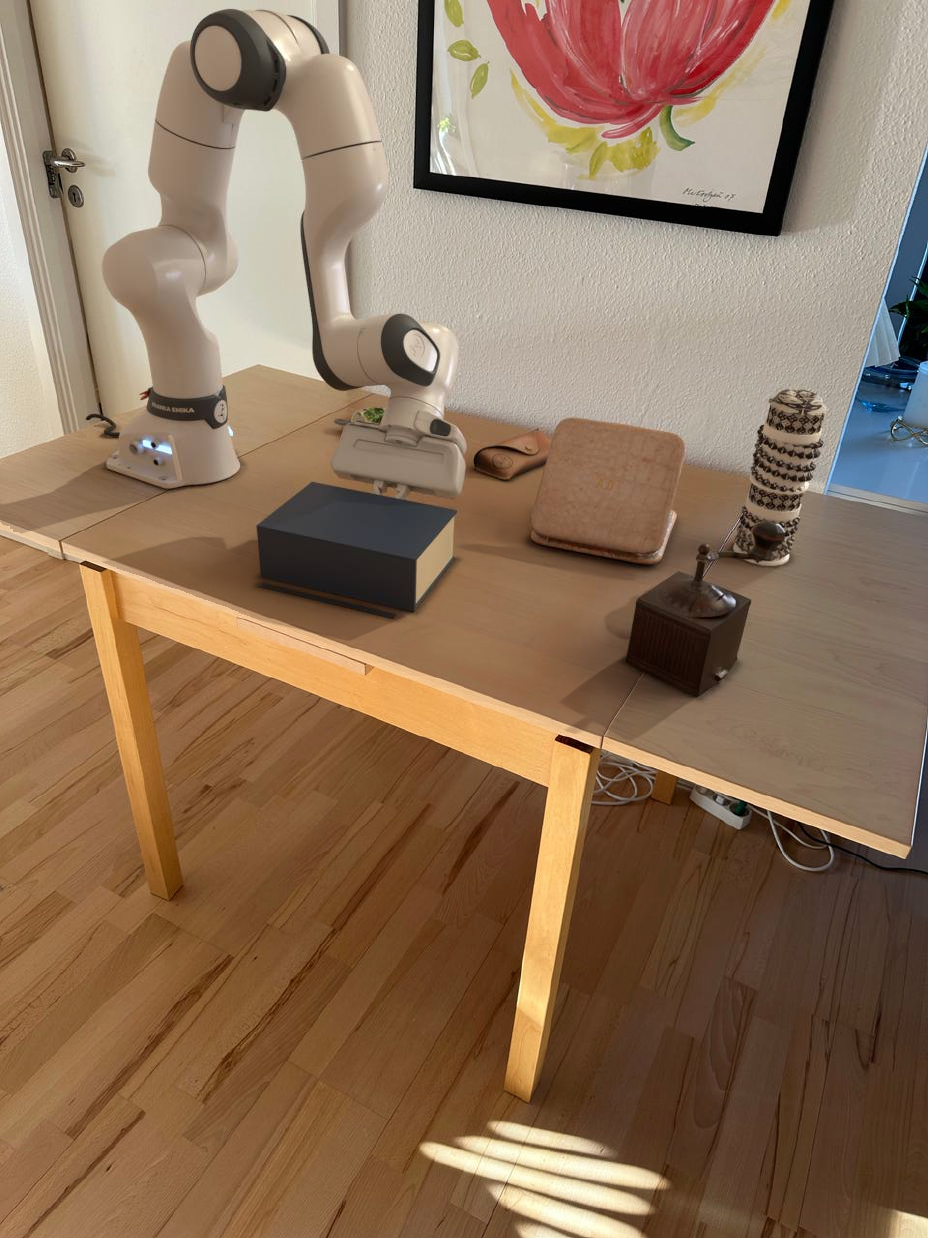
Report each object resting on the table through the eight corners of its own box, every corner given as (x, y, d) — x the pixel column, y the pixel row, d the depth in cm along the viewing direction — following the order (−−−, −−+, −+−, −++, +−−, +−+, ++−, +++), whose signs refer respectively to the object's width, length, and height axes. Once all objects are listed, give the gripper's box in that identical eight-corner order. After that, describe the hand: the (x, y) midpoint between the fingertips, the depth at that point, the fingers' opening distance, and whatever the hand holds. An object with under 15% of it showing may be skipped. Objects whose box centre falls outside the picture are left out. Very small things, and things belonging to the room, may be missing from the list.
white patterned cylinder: (763, 572, 134) (805, 409, 120) (717, 546, 140) (753, 388, 127) (804, 559, 138) (850, 400, 125) (758, 534, 144) (797, 380, 131)
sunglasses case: (509, 480, 157) (496, 443, 155) (481, 488, 162) (468, 453, 160) (569, 454, 168) (558, 419, 167) (541, 462, 173) (530, 429, 172)
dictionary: (260, 577, 125) (256, 525, 121) (313, 529, 138) (311, 481, 134) (414, 612, 120) (415, 559, 115) (454, 559, 132) (457, 509, 128)
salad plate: (327, 444, 168) (326, 420, 165) (342, 412, 183) (341, 389, 180) (430, 451, 167) (431, 427, 165) (437, 418, 183) (438, 395, 180)
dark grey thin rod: (258, 586, 123) (258, 585, 123) (262, 583, 124) (262, 582, 124) (393, 618, 118) (393, 618, 118) (396, 615, 119) (396, 614, 119)
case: (523, 545, 137) (532, 445, 129) (559, 493, 154) (569, 402, 146) (656, 573, 132) (675, 471, 123) (678, 516, 149) (696, 423, 140)
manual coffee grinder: (702, 701, 106) (734, 567, 96) (622, 662, 112) (645, 532, 102) (761, 648, 116) (795, 522, 107) (685, 615, 122) (711, 493, 112)
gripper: (340, 408, 135) (313, 493, 133) (468, 429, 130) (443, 518, 128) (353, 427, 141) (327, 508, 139) (477, 448, 136) (452, 533, 134)
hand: (384, 513), depth 133 cm, fingers closed, pressing on dictionary
